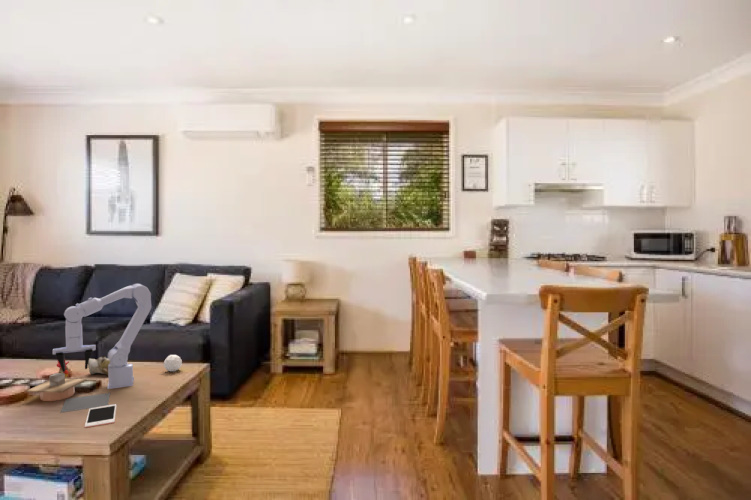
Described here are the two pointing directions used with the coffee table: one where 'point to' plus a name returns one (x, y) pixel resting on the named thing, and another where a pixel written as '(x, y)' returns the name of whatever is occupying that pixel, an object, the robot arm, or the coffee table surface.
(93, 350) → the robot arm
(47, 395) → the terracotta bowl
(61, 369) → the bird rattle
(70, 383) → the oak lid
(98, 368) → the ceramic sculpture
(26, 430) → the coffee table surface
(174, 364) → the geometric ball
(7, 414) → the coffee table surface
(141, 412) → the coffee table surface
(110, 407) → the cell phone
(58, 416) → the coffee table surface
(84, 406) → the rubber mat
